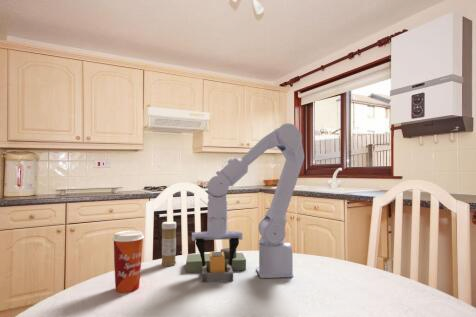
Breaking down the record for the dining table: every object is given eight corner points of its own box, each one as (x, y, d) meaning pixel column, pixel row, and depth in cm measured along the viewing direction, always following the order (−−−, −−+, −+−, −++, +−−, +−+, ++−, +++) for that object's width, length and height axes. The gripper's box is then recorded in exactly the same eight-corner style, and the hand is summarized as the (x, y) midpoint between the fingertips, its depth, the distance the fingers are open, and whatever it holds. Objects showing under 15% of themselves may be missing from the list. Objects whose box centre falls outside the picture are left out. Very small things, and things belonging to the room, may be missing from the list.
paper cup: (119, 297, 69) (121, 237, 70) (105, 288, 74) (107, 233, 75) (149, 288, 75) (150, 232, 75) (134, 280, 80) (135, 228, 80)
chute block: (223, 272, 87) (223, 251, 87) (224, 278, 82) (224, 256, 82) (209, 272, 87) (209, 251, 87) (210, 279, 81) (210, 256, 82)
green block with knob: (242, 261, 97) (242, 246, 97) (250, 280, 80) (250, 261, 81) (187, 263, 95) (187, 248, 95) (184, 282, 78) (184, 263, 79)
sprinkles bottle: (171, 261, 97) (172, 220, 98) (178, 264, 94) (178, 222, 94) (158, 264, 94) (159, 222, 95) (165, 267, 91) (165, 223, 92)
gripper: (191, 220, 80) (191, 270, 80) (243, 219, 82) (243, 268, 81) (192, 216, 87) (192, 262, 87) (240, 215, 89) (240, 260, 88)
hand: (217, 264), depth 84 cm, fingers open, 7 cm apart
